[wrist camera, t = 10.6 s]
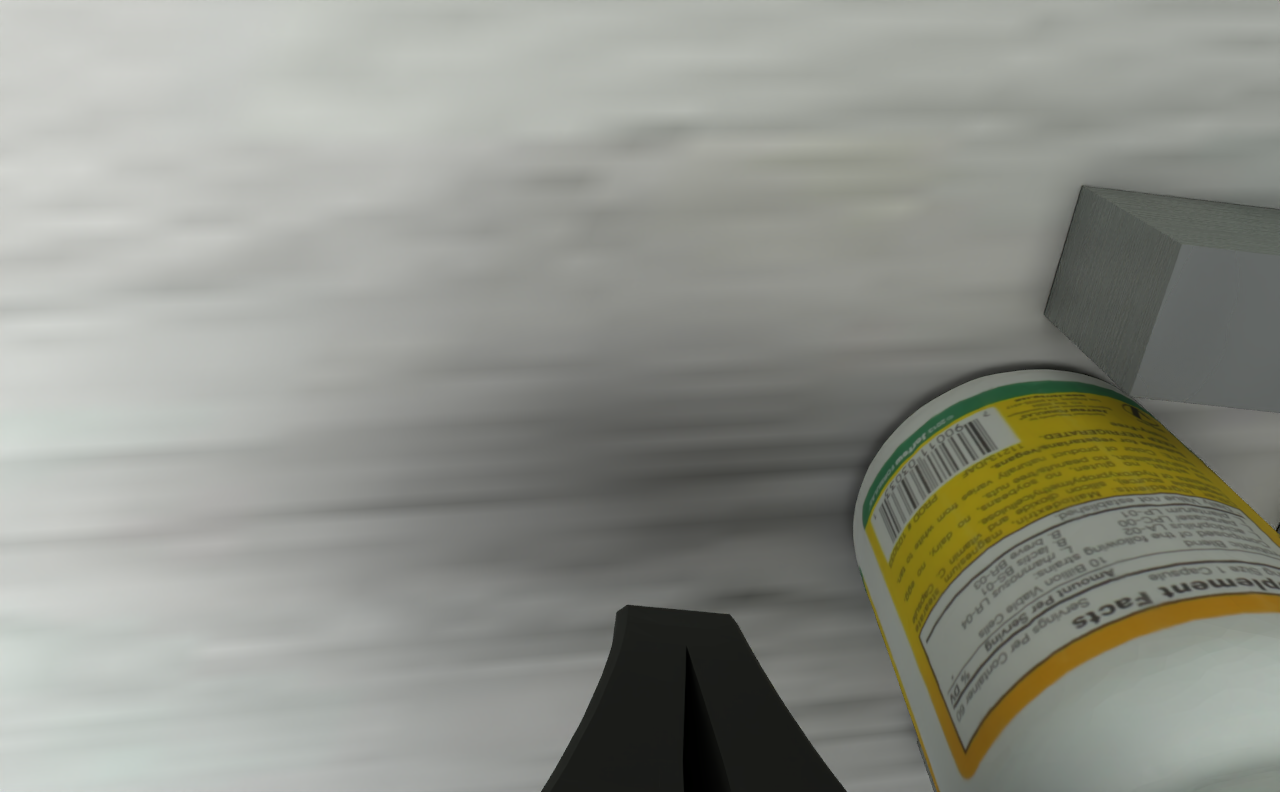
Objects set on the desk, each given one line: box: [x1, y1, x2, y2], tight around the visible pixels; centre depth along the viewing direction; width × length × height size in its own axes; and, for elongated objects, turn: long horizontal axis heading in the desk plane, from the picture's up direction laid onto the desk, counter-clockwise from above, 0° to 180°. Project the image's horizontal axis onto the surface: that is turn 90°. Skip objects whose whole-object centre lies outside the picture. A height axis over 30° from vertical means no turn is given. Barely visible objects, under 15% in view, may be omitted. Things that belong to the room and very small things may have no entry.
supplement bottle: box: [853, 369, 1280, 792], centre depth 13 cm, size 5×5×10 cm
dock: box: [917, 186, 1280, 792], centre depth 16 cm, size 18×7×4 cm, turn 173°
